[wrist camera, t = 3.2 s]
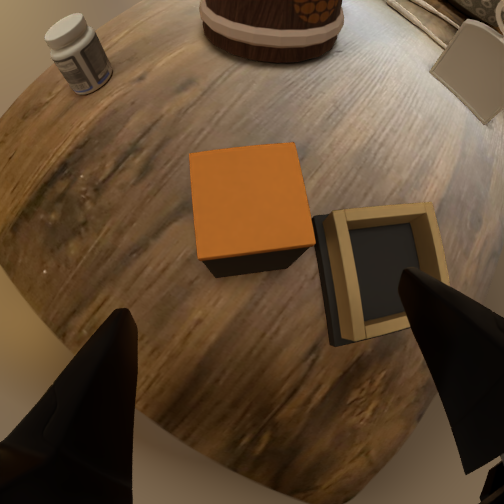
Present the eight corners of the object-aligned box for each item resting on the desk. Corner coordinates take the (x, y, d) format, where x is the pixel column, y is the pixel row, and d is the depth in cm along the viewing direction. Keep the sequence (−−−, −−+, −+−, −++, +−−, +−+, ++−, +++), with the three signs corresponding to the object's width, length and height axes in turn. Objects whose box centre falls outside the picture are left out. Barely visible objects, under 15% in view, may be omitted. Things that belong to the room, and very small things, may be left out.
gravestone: (435, 65, 26) (497, -28, 8) (488, 115, 25) (566, 39, 7) (429, 71, 26) (495, -28, 8) (484, 125, 25) (569, 44, 7)
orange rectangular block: (288, 269, 20) (316, 243, 13) (214, 278, 20) (197, 259, 12) (276, 199, 21) (294, 141, 14) (206, 208, 21) (188, 152, 13)
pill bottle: (105, 58, 24) (80, 5, 16) (119, 76, 24) (92, 17, 15) (69, 82, 24) (38, 33, 15) (79, 103, 23) (43, 49, 15)
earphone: (395, -30, 27) (488, -29, 14) (422, 44, 38) (507, 57, 26) (365, -23, 25) (482, -25, 12) (399, 68, 36) (503, 85, 23)
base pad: (431, 318, 20) (459, 318, 16) (329, 345, 20) (347, 351, 16) (411, 210, 22) (435, 194, 18) (309, 220, 21) (323, 203, 18)
